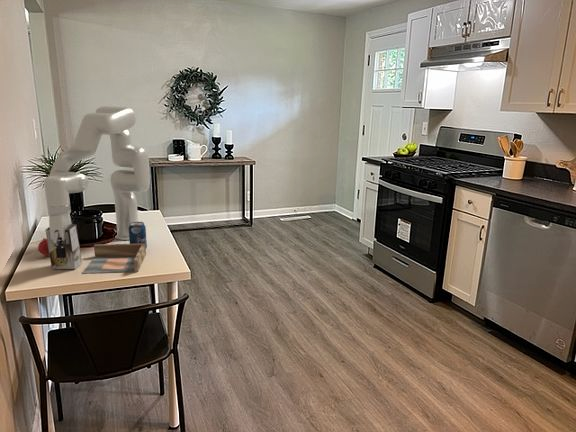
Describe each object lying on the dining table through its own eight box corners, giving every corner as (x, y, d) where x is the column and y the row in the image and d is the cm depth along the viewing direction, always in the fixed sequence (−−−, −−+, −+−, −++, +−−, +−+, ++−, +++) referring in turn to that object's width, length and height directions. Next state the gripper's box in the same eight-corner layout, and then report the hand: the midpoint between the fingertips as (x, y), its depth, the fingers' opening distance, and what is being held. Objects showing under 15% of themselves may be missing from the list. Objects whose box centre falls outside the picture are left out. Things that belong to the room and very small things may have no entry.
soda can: (141, 253, 180) (139, 226, 176) (126, 251, 181) (124, 225, 178) (150, 248, 186) (148, 221, 183) (135, 246, 187) (133, 220, 184)
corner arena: (95, 255, 175) (94, 244, 174) (145, 254, 178) (145, 243, 177) (82, 273, 158) (81, 261, 157) (138, 271, 161) (137, 259, 160)
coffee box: (82, 262, 167) (77, 224, 163) (75, 269, 161) (69, 229, 157) (58, 262, 167) (53, 223, 162) (50, 269, 161) (44, 229, 156)
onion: (51, 252, 177) (49, 234, 175) (58, 256, 174) (55, 237, 172) (36, 256, 173) (34, 237, 171) (42, 260, 170) (40, 241, 167)
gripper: (56, 203, 165) (62, 245, 170) (38, 216, 149) (45, 262, 154) (77, 202, 166) (82, 245, 171) (61, 215, 150) (67, 262, 155)
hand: (65, 253), depth 163 cm, fingers closed on coffee box, 6 cm apart
